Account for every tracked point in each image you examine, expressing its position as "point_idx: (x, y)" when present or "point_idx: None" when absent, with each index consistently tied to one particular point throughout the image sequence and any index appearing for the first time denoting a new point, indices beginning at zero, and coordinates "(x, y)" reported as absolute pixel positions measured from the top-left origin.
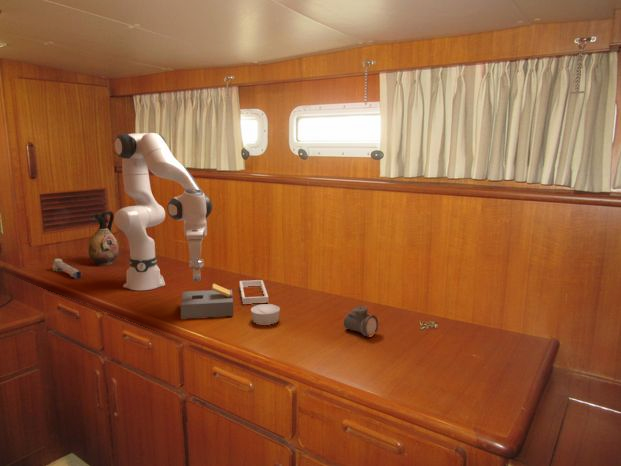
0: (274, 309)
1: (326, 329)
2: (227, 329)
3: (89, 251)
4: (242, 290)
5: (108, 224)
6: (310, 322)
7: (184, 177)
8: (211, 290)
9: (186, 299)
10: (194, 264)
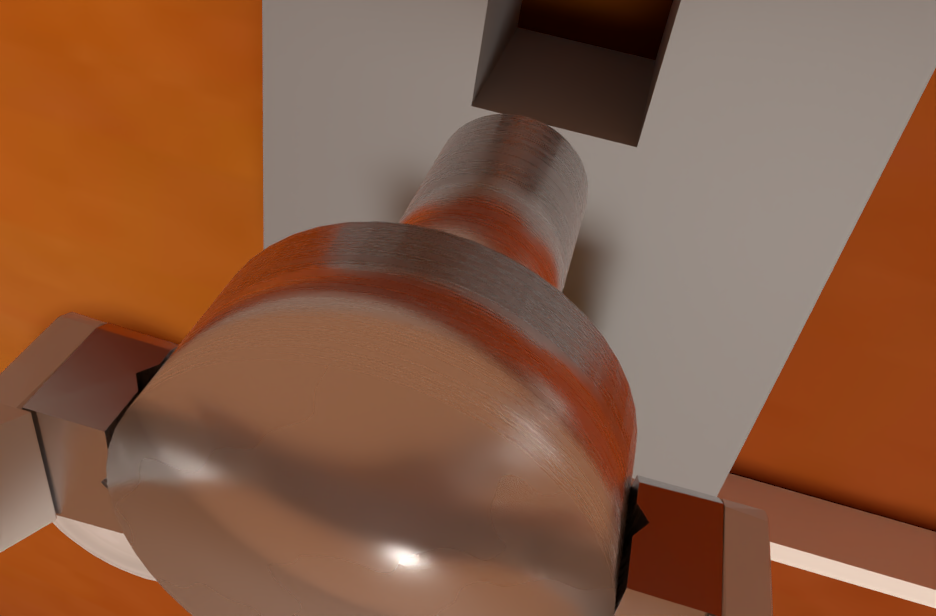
0: (113, 544)
1: (48, 601)
2: (36, 142)
3: None
4: (852, 575)
5: None
6: (146, 597)
7: None
8: (804, 304)
9: None
10: (11, 382)
